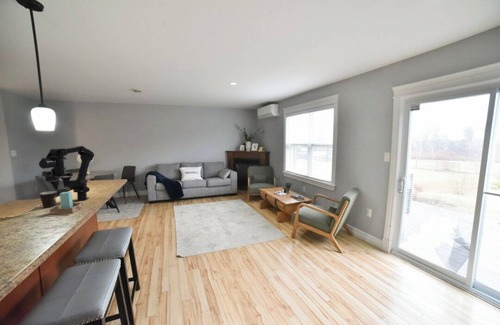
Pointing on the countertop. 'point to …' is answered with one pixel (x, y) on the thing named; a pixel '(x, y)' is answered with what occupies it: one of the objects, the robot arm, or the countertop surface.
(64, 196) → the tea tin
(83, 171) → the robot arm
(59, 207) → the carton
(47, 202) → the coffee mug
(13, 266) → the countertop surface
